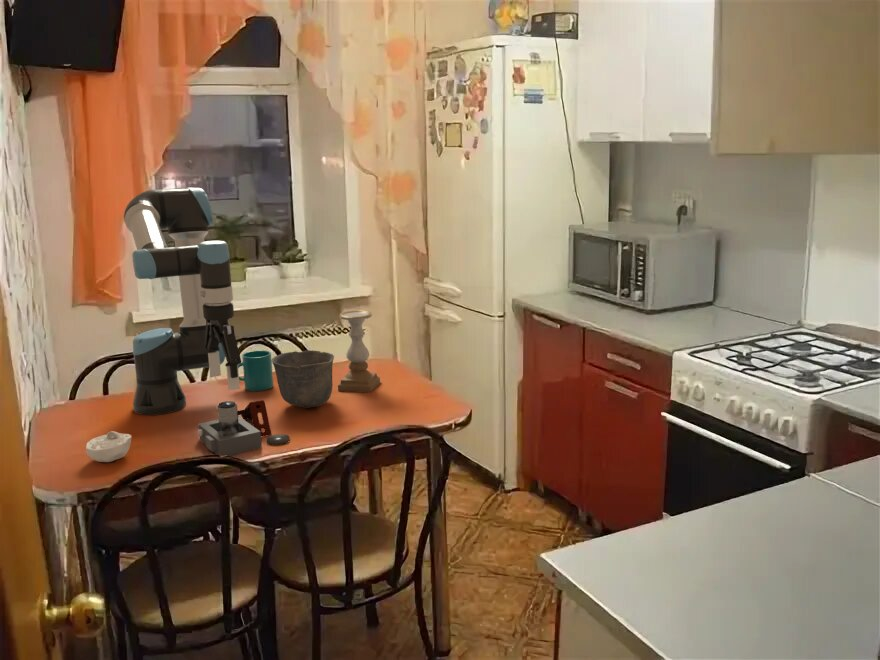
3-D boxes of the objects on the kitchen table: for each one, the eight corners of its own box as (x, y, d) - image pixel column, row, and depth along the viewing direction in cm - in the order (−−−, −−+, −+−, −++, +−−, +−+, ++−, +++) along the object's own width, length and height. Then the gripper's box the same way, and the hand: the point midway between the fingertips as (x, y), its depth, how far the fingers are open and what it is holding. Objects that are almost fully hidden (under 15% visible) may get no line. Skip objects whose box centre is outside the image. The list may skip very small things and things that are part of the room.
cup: (234, 386, 270) (231, 353, 267) (271, 382, 274) (268, 349, 271) (237, 394, 262) (234, 360, 259) (275, 389, 266) (272, 355, 263)
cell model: (77, 465, 208) (73, 440, 206) (111, 448, 219) (108, 424, 217) (109, 470, 204) (106, 444, 203) (142, 453, 215) (139, 428, 214)
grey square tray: (195, 440, 223) (193, 424, 222) (239, 430, 229) (237, 415, 228) (216, 458, 210) (214, 442, 209) (261, 447, 216) (260, 431, 215)
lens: (217, 435, 220) (214, 403, 218) (235, 431, 223) (232, 399, 221) (224, 440, 216) (221, 408, 214) (242, 436, 219) (239, 404, 217)
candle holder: (380, 382, 271) (377, 310, 265) (370, 392, 260) (367, 317, 255) (348, 380, 273) (345, 309, 267) (337, 391, 263) (333, 317, 257)
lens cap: (263, 440, 222) (263, 437, 222) (284, 435, 225) (284, 432, 225) (272, 446, 217) (272, 443, 217) (293, 441, 220) (293, 438, 220)
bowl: (295, 420, 237) (292, 369, 233) (264, 406, 250) (260, 357, 246) (347, 405, 248) (344, 357, 245) (314, 393, 261) (311, 346, 258)
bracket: (233, 442, 221) (226, 405, 224) (224, 451, 234) (218, 417, 236) (271, 434, 226) (264, 399, 228) (261, 444, 238) (254, 411, 241)
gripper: (187, 296, 219) (194, 373, 224) (220, 313, 199) (227, 397, 204) (215, 292, 223) (221, 368, 228) (250, 309, 203) (256, 392, 208)
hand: (224, 382), depth 216 cm, fingers open, 13 cm apart
